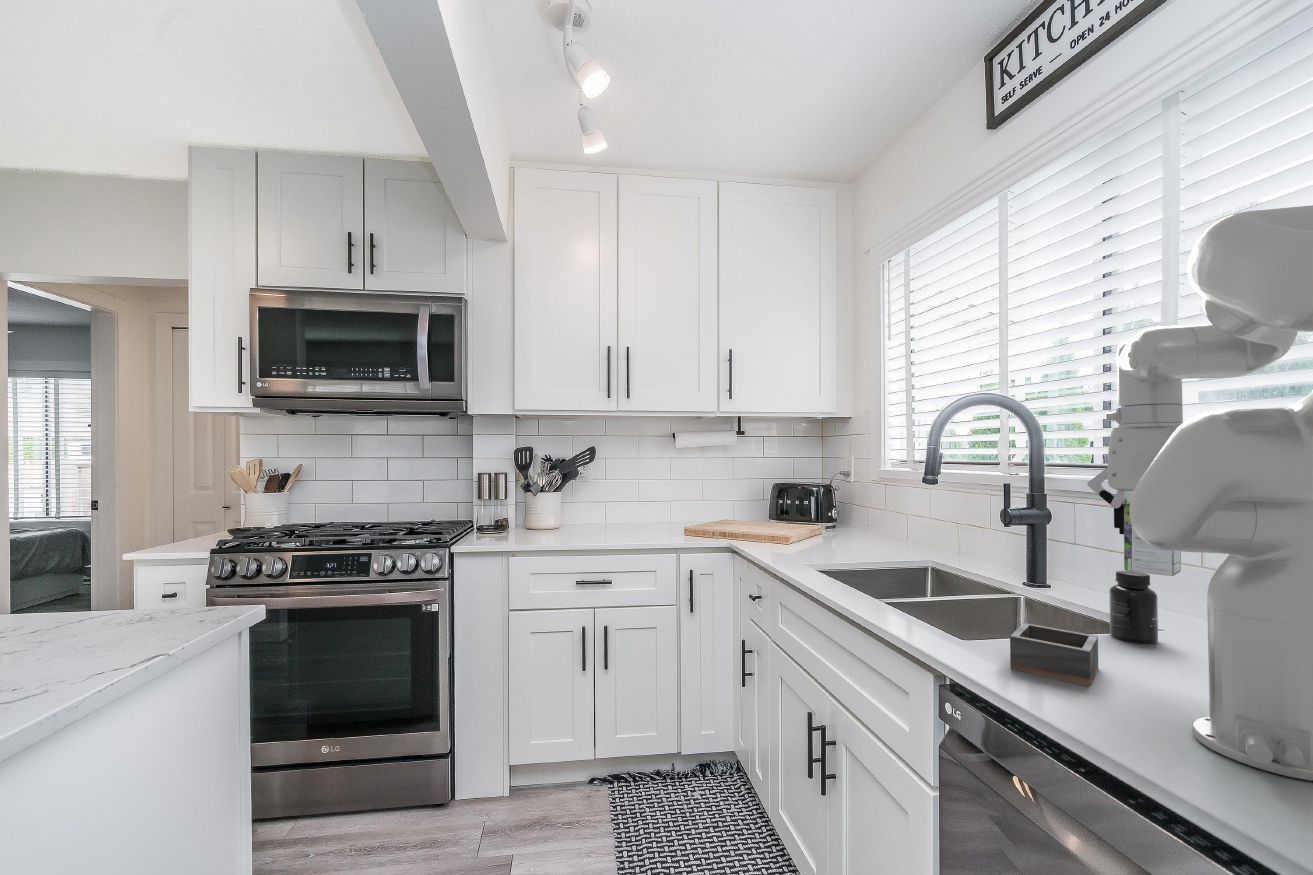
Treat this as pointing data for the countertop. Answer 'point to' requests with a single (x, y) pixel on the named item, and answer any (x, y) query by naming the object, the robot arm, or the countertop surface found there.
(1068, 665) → the socket block
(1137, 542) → the syrup box
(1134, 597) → the supplement bottle
